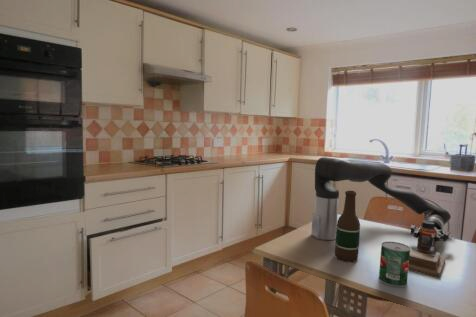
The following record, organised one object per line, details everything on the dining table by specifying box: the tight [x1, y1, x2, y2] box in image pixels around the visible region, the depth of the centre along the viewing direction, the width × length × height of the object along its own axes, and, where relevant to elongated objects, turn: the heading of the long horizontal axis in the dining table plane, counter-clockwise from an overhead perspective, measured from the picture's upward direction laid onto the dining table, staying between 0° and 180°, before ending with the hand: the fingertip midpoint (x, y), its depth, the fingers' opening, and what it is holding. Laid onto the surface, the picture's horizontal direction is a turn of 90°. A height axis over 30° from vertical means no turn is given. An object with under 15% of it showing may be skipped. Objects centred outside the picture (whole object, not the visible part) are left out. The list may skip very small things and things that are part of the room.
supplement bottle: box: [416, 220, 437, 254], centre depth 126 cm, size 6×6×11 cm
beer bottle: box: [334, 190, 361, 263], centre depth 116 cm, size 8×8×24 cm
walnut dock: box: [408, 249, 446, 279], centre depth 114 cm, size 16×14×4 cm
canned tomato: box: [378, 241, 411, 288], centre depth 100 cm, size 8×8×11 cm
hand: (426, 237), depth 124 cm, fingers closed on supplement bottle, 6 cm apart
